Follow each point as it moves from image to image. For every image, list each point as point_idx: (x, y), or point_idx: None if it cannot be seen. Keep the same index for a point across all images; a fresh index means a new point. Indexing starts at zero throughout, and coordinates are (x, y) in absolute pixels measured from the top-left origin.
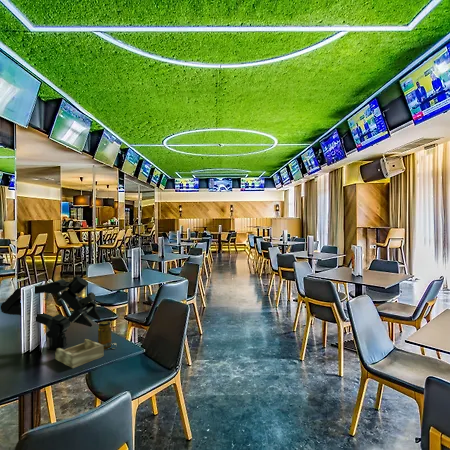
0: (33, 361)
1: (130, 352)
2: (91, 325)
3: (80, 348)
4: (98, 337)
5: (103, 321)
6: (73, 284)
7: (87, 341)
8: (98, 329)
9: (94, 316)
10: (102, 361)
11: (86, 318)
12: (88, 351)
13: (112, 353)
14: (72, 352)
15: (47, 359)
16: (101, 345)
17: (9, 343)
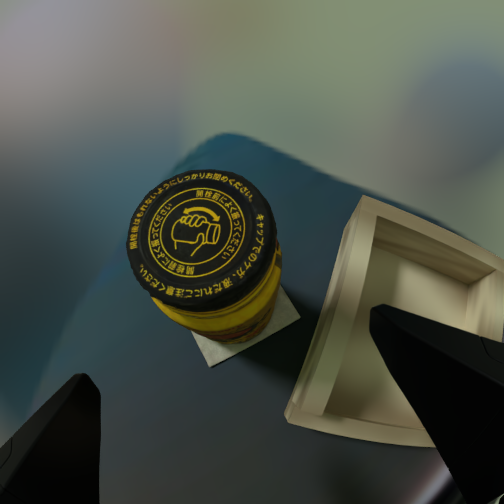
0: (457, 492)
1: (262, 143)
2: (384, 311)
3: (336, 412)
4: (269, 312)
5: (149, 275)
6: None
7: (337, 369)
8: (264, 301)
9: (81, 470)
10: (385, 202)
11: (495, 360)
12: (445, 233)
13: (299, 207)
14: (387, 415)
15: (441, 468)
16: (372, 203)
17: None
